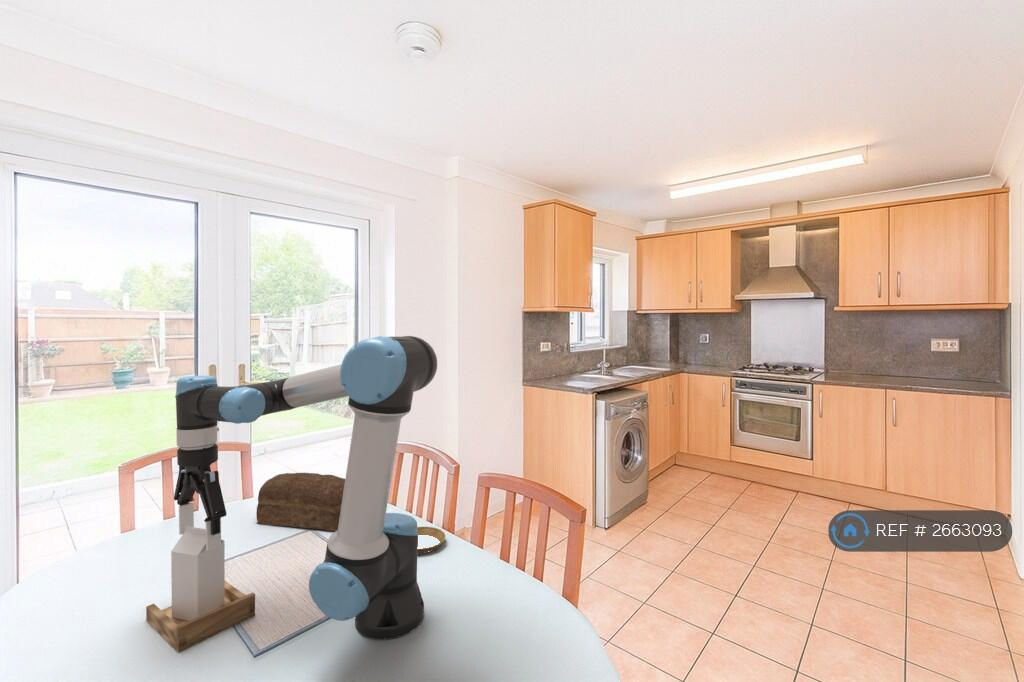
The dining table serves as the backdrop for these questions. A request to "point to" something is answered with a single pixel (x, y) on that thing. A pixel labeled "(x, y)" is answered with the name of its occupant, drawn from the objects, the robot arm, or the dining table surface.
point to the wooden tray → (202, 620)
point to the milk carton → (196, 575)
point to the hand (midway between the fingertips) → (199, 540)
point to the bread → (301, 501)
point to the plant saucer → (431, 532)
